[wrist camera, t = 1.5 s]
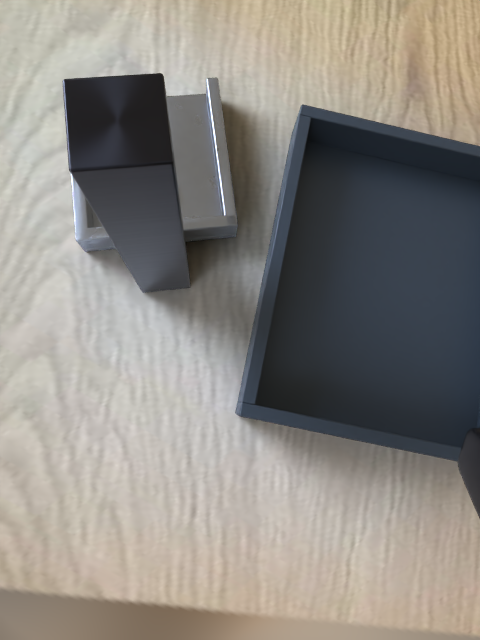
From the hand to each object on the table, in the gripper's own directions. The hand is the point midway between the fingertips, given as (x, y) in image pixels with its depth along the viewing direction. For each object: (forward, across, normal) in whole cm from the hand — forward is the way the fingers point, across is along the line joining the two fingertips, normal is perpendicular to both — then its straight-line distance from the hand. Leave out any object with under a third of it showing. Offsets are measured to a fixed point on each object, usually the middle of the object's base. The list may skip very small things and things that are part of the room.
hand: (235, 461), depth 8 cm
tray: (+14, -9, +4) cm, 17 cm away
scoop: (+18, +2, -1) cm, 18 cm away
